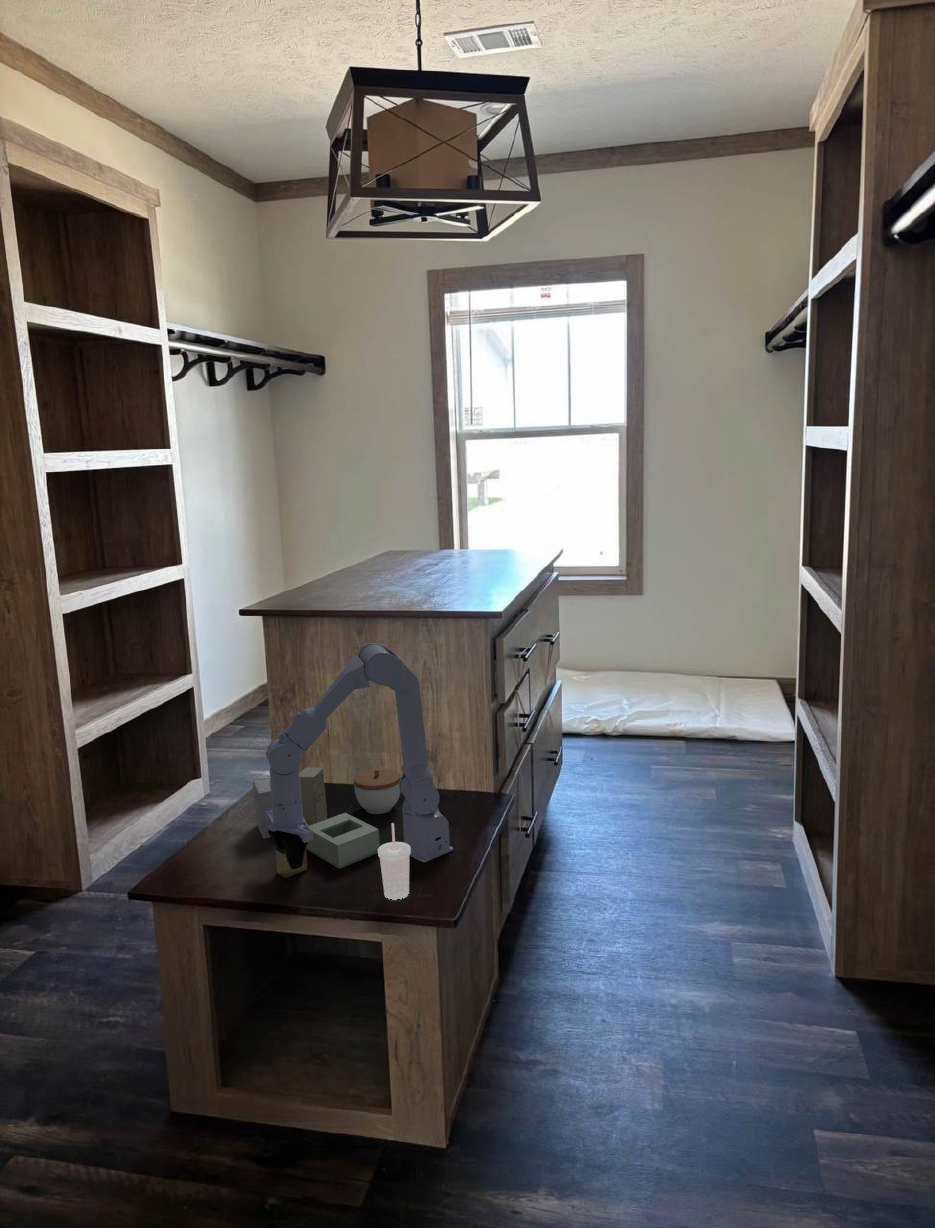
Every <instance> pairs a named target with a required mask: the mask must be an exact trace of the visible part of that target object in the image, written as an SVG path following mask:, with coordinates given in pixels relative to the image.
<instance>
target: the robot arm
mask: <svg viewBox="0 0 935 1228" xmlns="http://www.w3.org/2000/svg"><path fill="white" fill-rule="evenodd" d="M369 682H371V683H373V684H375V685H379V686H384V687H388V688H389V689H391V690H393V691H394V692H395V693H394V694H395V702H396V712H397V720H398V729H399V738H400V746H401V753H402V755H401V757H402V762H403V763H402V765H401V779H400V783H399V789H400V794H401V795H403V797H404V800H403V804H402V805H401V806H402V807H401V810H402V813H401V814H402V827H403V842H404V843H407V844H408V845H409V846H410V848H411V853H410V855H409V857H412V858H413V859H416V860H417V861H419V862H422V863H427V862H429V861H431V860H434V859H436V858H438V857H442V855H445V854H448V853H450V852H451V851H453V850H454V847H453V846H450V845H451V844H450V843H451V841H450V840H451V839H450V824H449V821H448V819H447V818H446V817H445V816H444V815H443V814H442V813H441V812H440V810H439V806H438V805H439V803H440V799H441V798H440V793H439V790H438V789H437V787H436V786H435V784H434V778H433V774H432V772H431V769H430V766H429V760H428V753H427V752H428V751H427V743H426V735H425V734H426V733H425V726H424V724H425V723H424V717H423V716H424V715H423V706H422V697H421V689H420V688H421V687H420V681H419V678H418V676H417V675H415V673H414V672H412V670H411V669H410V668H409V667H408V666H407V665H406V664H405V663H404V662H403V660H402V659H400V657H399V656H398V655H397V654H395V652H394V651H392V650H391V649H389V648H387V647H386V646H384V645H382V644H380V643H376V642H372V643H367V644H366V645H364V646H363V647H362V648H361V649H360V650H359V652H358V654H355V655H354V656H353V657H351V659H350V660H349V662H348V663H347V664H346V665H345V667H344V668H343V670H342V671H341V672H340V674H339V675H338V676H337V677H336V679H335V680H334V681H333V682H332V683H331V685H330V686H329V687H328V688H327V690H326V691H325V692H324V694H323V695H322V696H321V697H320V698H319V699H318V701H317V703H315V705H314V706H312V707H306V708H303V709H302V710H301V712H299V711H296V713H295V714H293V721H292V722H291V723H290V724H289V725H288V726H287V728H286V729H285V730H284V731H283V732H281V731H280V732H279V733H278V735H277V738H275V739H273V740H272V741H271V742H270V743H269V744H268V746H267V747H266V748H267V750H266V752H265V756H266V758H267V760H268V762H269V763H268V764H269V767H270V768H269V776H270V777H269V778H270V788H271V799H272V810H270V811H267V812H265V813H266V821H268V822H271V825H269V830H268V834H269V835H270V836H271V837H270V838H271V839H272V841H273V843H274V845H275V848H276V849H278V848H281V847H284V846H285V847H286V850H287V853H288V857H289V863H290V866H291V869H293V870H294V869H297V868H299V867H302V863H303V858H304V853H305V849H306V850H307V847H306V846H307V844H308V842H309V841H311V840H313V830H311V829H310V828H309V826H308V825H307V823H306V821H305V819H304V818H303V810H302V798H301V785H300V775H299V767H300V765H301V761H302V755H304V754H305V753H306V752H307V751H308V750H309V749H310V748H311V746H312V745H313V744H315V742H316V741H317V739H319V737H320V736H321V735H322V734H323V733H324V732H325V730H326V729H327V719H328V718H329V717H330V715H332V713H333V712H334V711H335V710H336V709H337V708H338V707H339V706H340V705H341V704H342V703H343V702H344V701H345V700H346V699H347V698H348V697H349V695H351V694H352V692H354V691H355V690H359V689H366V688H371V685H370V683H369Z"/></svg>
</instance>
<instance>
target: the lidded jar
mask: <svg viewBox="0 0 935 1228" xmlns="http://www.w3.org/2000/svg"><path fill="white" fill-rule="evenodd" d="M401 777H402V774H400V772H398V771H397V770H395V769H393V768H392V769H391V768H382V767H381V768H380V767H379V768H372V769H371V768H370V769H366V770H363V771H360V772H358V773H357V774H355V775H354V777H353V785H354V794H355V797H356V800H357V803H358V804H359V806H360V807H362V808H363V809H364V810H365V811H366V813H368V814H372V815H381V814H386V813H389V812H391V811H392V809H393V807H395V805H397V802H398V801H399V799H400V795H401V791H400V789H399V783H400V779H401Z"/></svg>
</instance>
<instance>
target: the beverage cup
mask: <svg viewBox="0 0 935 1228" xmlns="http://www.w3.org/2000/svg"><path fill="white" fill-rule="evenodd" d="M395 835H396V834H395V822H392V823H391V836H392V837H391V838H392V839H391V840H392V841H391V842H386V843H383V844H381V845H380V847H379V848H378V853H377V854H378V855H377V856H378V857H379V862H380V869H381V877H382V885H383V893H384V894H383V895H384V897H385V898H386V899H387V898H388V900H390V899H392V900H391V901H398V900H397V899H400V900H403V899H405V898H407V897H408V896H409V895H410V853H411V848H410V846H409V845H408V844H407V843H404V841H396V837H395ZM408 894H409V895H408ZM402 898H403V899H402Z"/></svg>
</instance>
